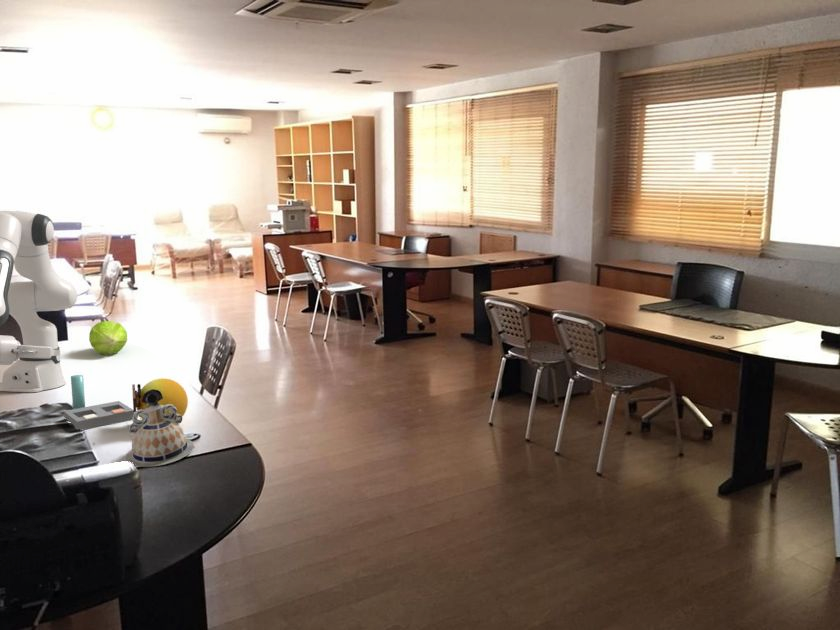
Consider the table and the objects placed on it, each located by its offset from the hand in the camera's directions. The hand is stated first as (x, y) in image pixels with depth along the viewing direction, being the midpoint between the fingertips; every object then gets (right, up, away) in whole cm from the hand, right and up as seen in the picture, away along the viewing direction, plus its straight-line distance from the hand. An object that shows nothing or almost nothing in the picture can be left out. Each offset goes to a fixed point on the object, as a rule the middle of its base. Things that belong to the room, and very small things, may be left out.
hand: (50, 352), depth 212 cm
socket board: (+14, -22, +3) cm, 26 cm away
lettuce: (-23, -6, +91) cm, 94 cm away
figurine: (+44, -28, -24) cm, 57 cm away
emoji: (+35, -23, -1) cm, 42 cm away
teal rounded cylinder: (+4, -20, +10) cm, 23 cm away
